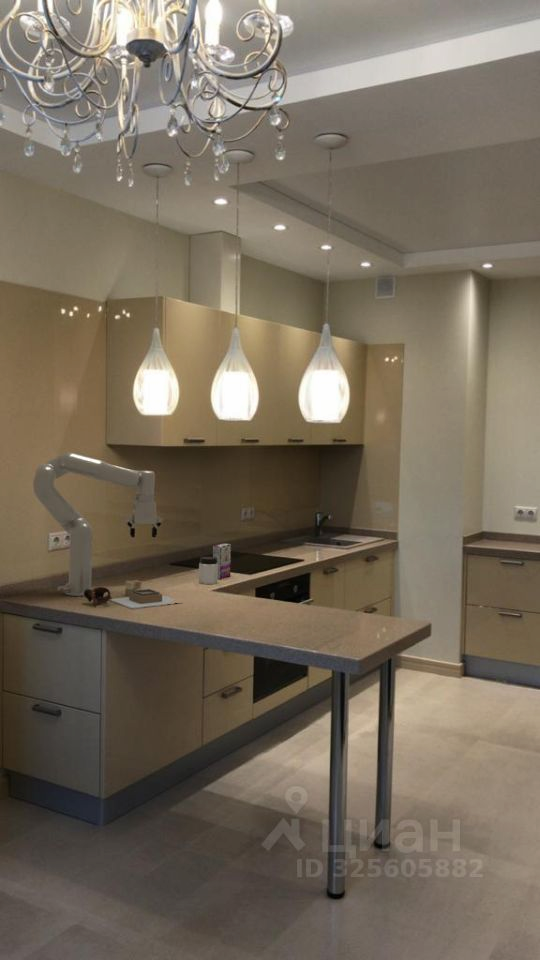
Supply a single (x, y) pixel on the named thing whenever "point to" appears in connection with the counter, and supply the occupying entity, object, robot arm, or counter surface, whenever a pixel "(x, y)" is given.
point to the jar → (208, 570)
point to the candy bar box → (223, 559)
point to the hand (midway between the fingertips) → (143, 537)
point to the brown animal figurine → (97, 595)
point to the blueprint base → (137, 605)
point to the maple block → (132, 586)
